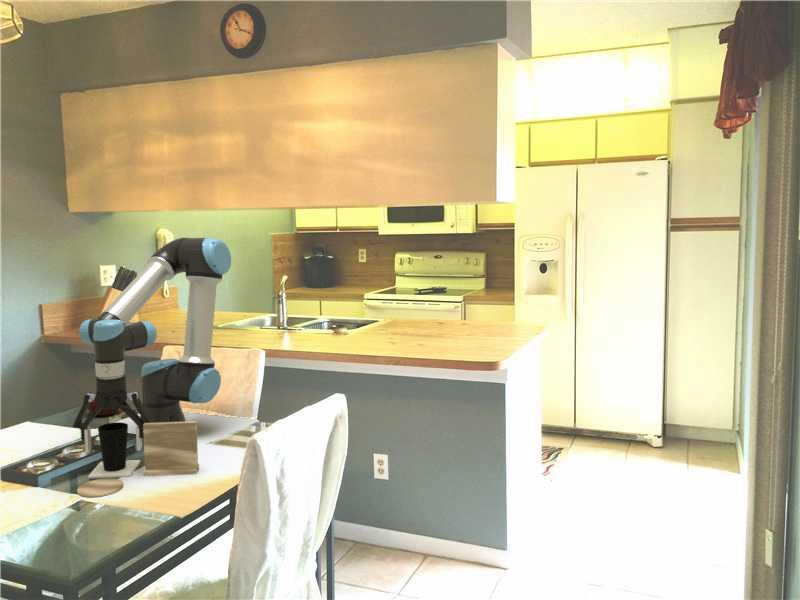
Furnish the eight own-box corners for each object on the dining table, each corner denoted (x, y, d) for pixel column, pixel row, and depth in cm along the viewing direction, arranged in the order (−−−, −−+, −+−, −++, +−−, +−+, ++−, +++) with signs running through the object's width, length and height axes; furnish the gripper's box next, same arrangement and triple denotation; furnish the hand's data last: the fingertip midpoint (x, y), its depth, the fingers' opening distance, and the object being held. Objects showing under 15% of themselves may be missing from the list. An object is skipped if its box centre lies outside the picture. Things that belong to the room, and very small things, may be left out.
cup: (118, 474, 180) (116, 431, 178) (93, 471, 181) (91, 429, 180) (135, 464, 187) (133, 423, 186) (111, 461, 189) (109, 421, 187)
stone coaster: (100, 463, 189) (100, 461, 189) (140, 461, 190) (140, 459, 190) (88, 478, 178) (87, 476, 178) (130, 476, 180) (130, 474, 180)
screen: (148, 469, 185) (146, 421, 183) (199, 466, 187) (197, 419, 185) (143, 475, 180) (141, 426, 178) (196, 473, 182) (194, 424, 180)
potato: (80, 417, 232) (79, 394, 231) (99, 408, 243) (98, 387, 242) (110, 419, 230) (108, 396, 229) (128, 410, 241) (127, 388, 240)
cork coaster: (85, 481, 176) (85, 479, 176) (128, 479, 178) (128, 477, 178) (71, 498, 165) (70, 496, 165) (116, 496, 167) (116, 493, 167)
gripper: (57, 380, 176) (62, 456, 178) (154, 378, 179) (157, 453, 182) (67, 374, 183) (71, 447, 186) (160, 371, 186) (163, 443, 189)
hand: (114, 450), depth 184 cm, fingers open, 13 cm apart
